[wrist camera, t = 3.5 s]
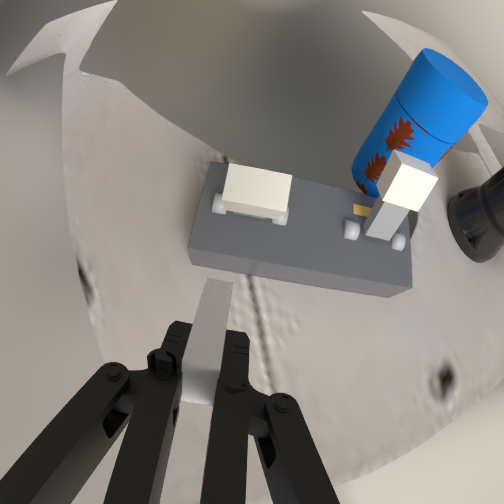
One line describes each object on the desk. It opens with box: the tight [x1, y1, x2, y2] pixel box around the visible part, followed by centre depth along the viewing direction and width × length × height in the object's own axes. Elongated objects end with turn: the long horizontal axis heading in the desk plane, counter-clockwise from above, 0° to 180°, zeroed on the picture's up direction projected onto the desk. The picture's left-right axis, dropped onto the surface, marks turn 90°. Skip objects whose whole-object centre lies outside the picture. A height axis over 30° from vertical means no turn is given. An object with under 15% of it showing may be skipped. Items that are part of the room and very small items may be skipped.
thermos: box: [352, 48, 488, 198], centre depth 33 cm, size 11×11×25 cm
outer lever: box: [222, 163, 292, 220], centre depth 27 cm, size 5×3×11 cm, turn 81°
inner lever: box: [363, 149, 438, 241], centre depth 29 cm, size 5×3×11 cm, turn 81°
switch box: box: [188, 162, 412, 298], centre depth 36 cm, size 28×12×7 cm, turn 81°
